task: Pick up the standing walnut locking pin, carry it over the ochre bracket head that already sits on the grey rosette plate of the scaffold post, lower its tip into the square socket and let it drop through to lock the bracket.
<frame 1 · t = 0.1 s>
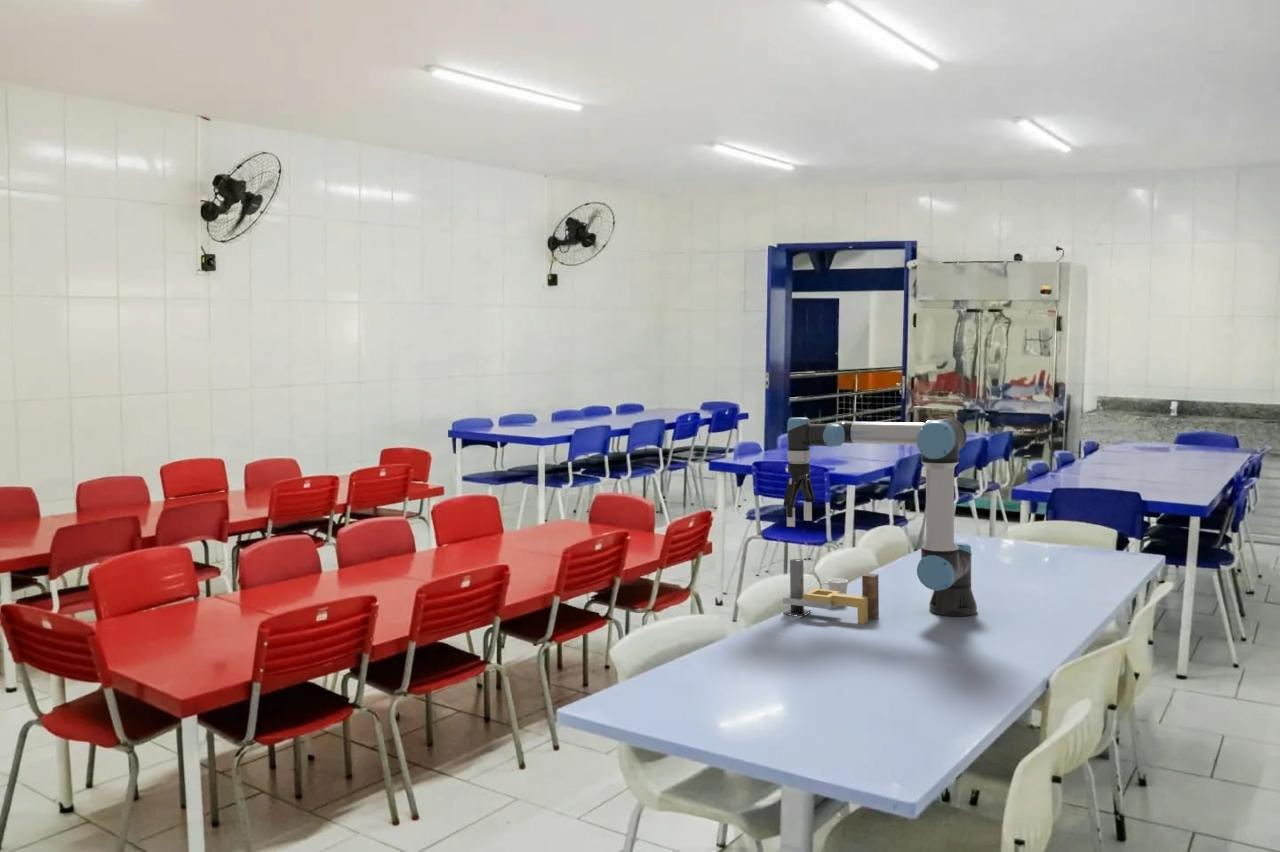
hand: (799, 523, 365), 28 cm above the table, fingers open, 13 cm apart
pin: (870, 617, 346), on the table
cup: (833, 603, 366), on the table
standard: (797, 613, 353), on the table
bracket: (837, 606, 345), on the table
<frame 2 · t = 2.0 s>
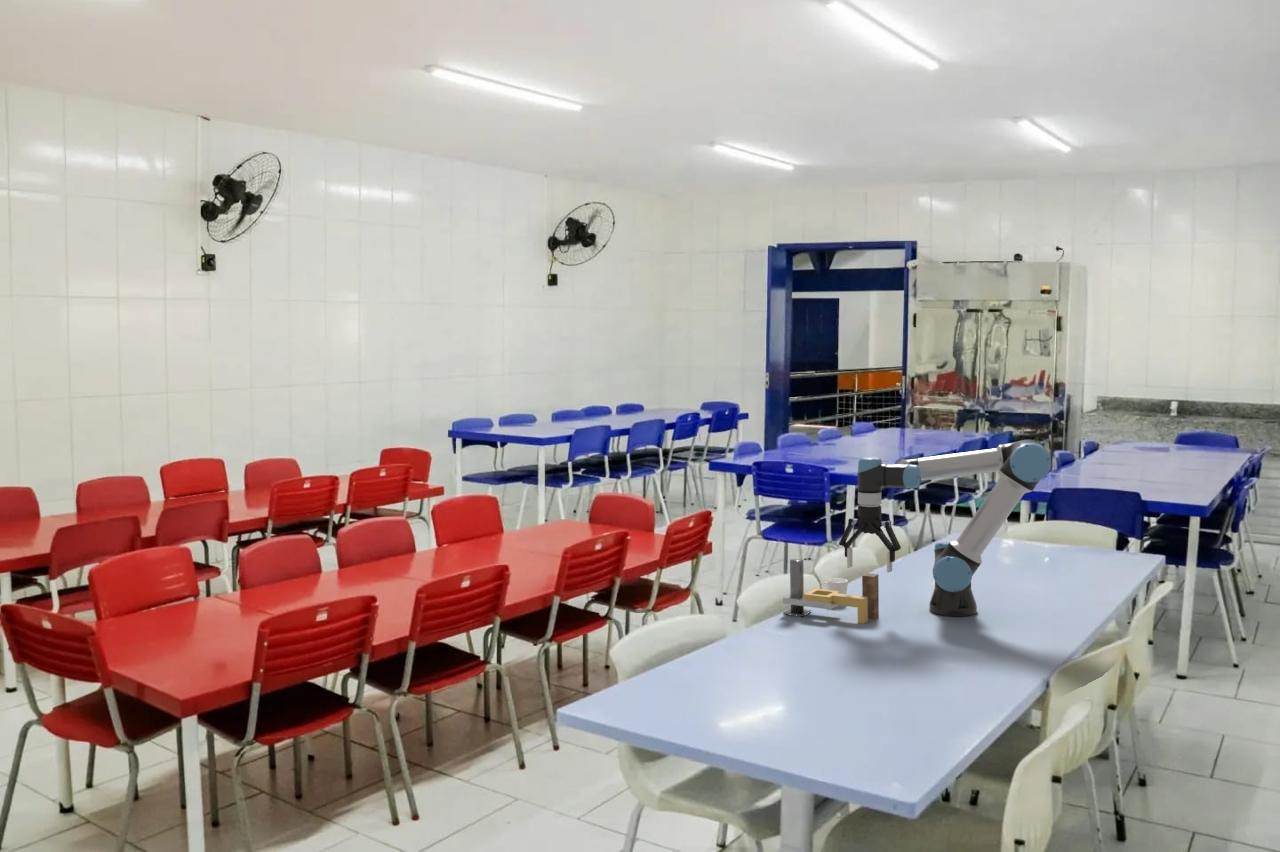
hand: (869, 569, 345), 16 cm above the table, fingers open, 13 cm apart
nothing on the table moved.
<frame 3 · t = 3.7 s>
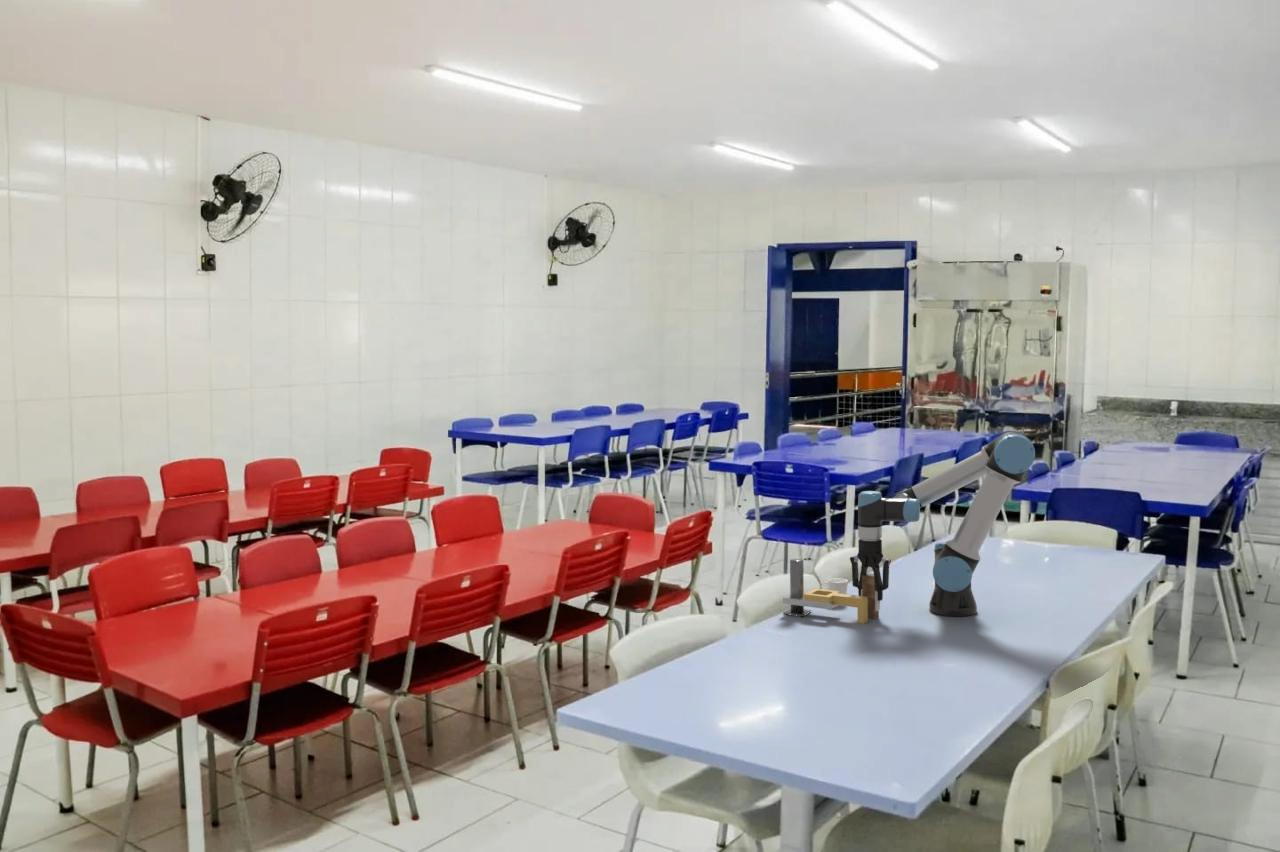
hand: (870, 609, 346), 3 cm above the table, fingers closed on pin, 4 cm apart
pin: (870, 617, 346), on the table, touching gripper
everything else where it was.
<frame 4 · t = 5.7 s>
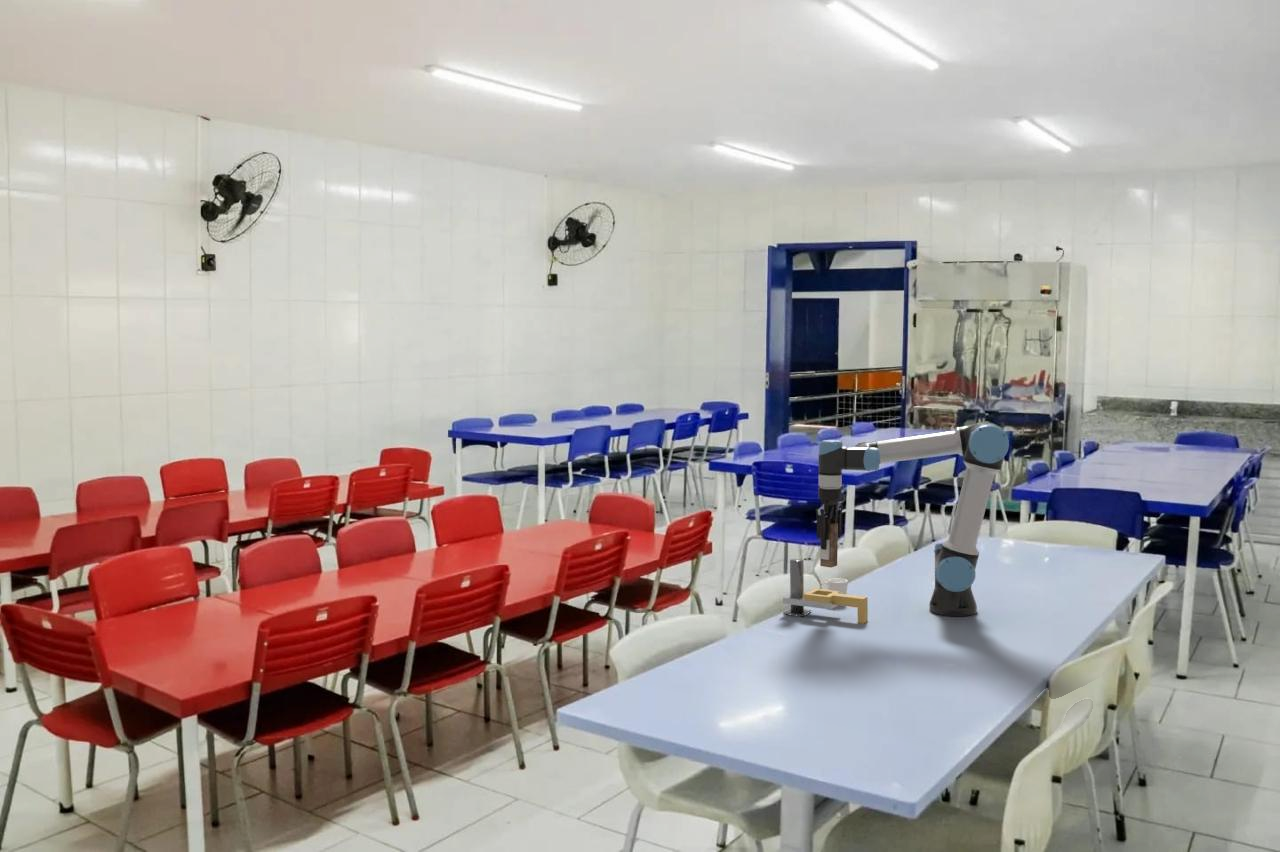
hand: (828, 557, 346), 20 cm above the table, fingers closed on pin, 4 cm apart
pin: (828, 565, 346), point 17 cm above the table, touching gripper
everything else where it was.
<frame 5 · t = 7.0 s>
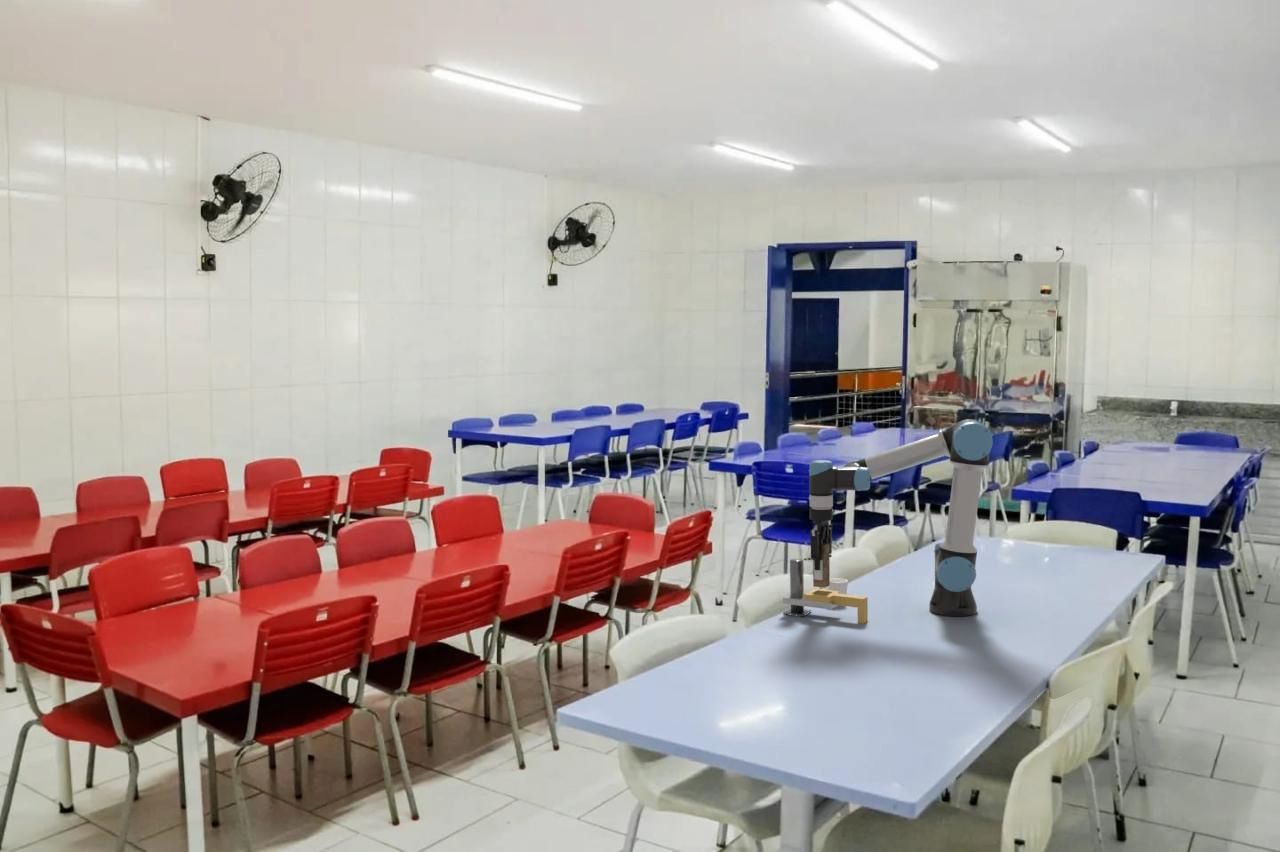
hand: (821, 578, 347), 13 cm above the table, fingers closed on pin, 4 cm apart
pin: (821, 585, 347), point 10 cm above the table, touching gripper
everything else where it was.
when the fingers open (9 cm above the table, at t = 7.9 s): pin drops 7 cm, on the table.
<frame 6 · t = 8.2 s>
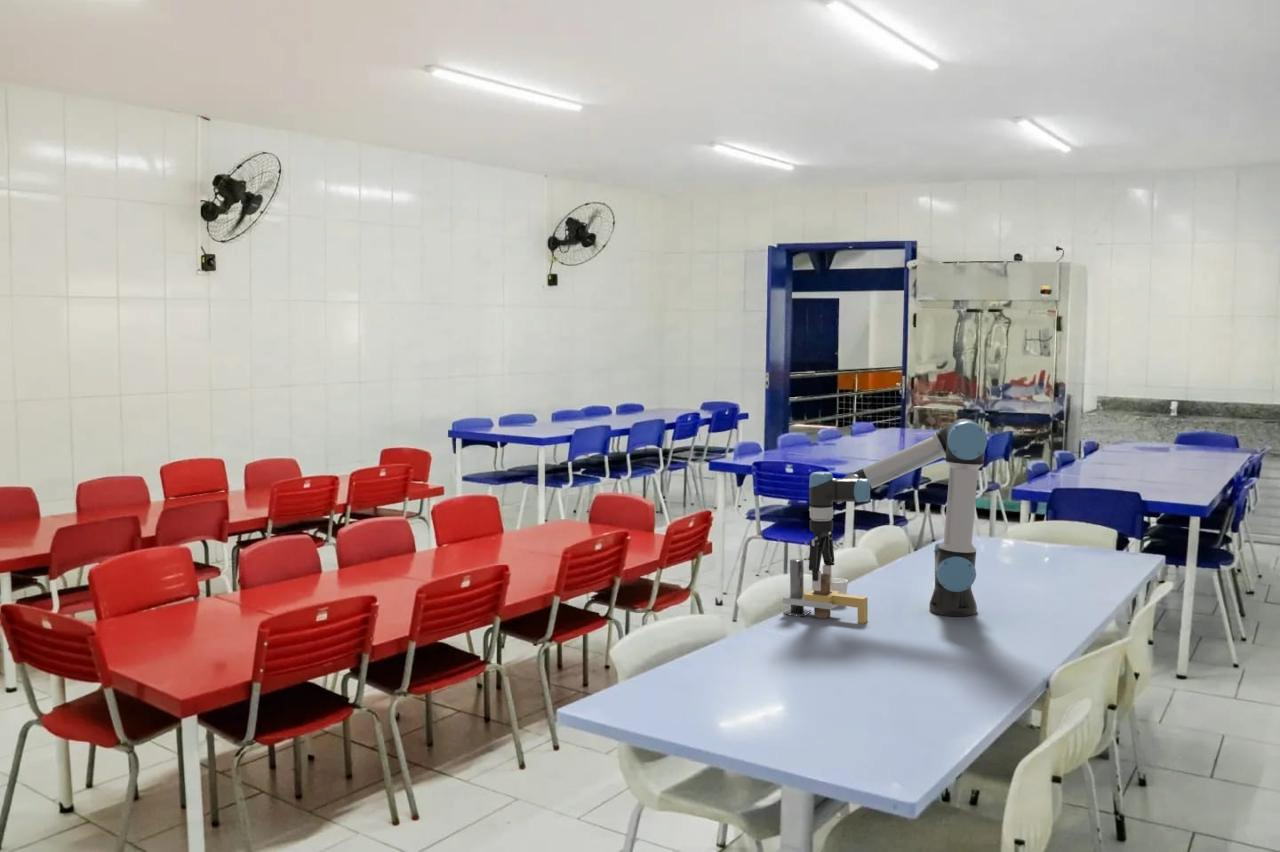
hand: (822, 587, 347), 10 cm above the table, fingers open, 8 cm apart
pin: (822, 616, 348), on the table
everything else where it was.
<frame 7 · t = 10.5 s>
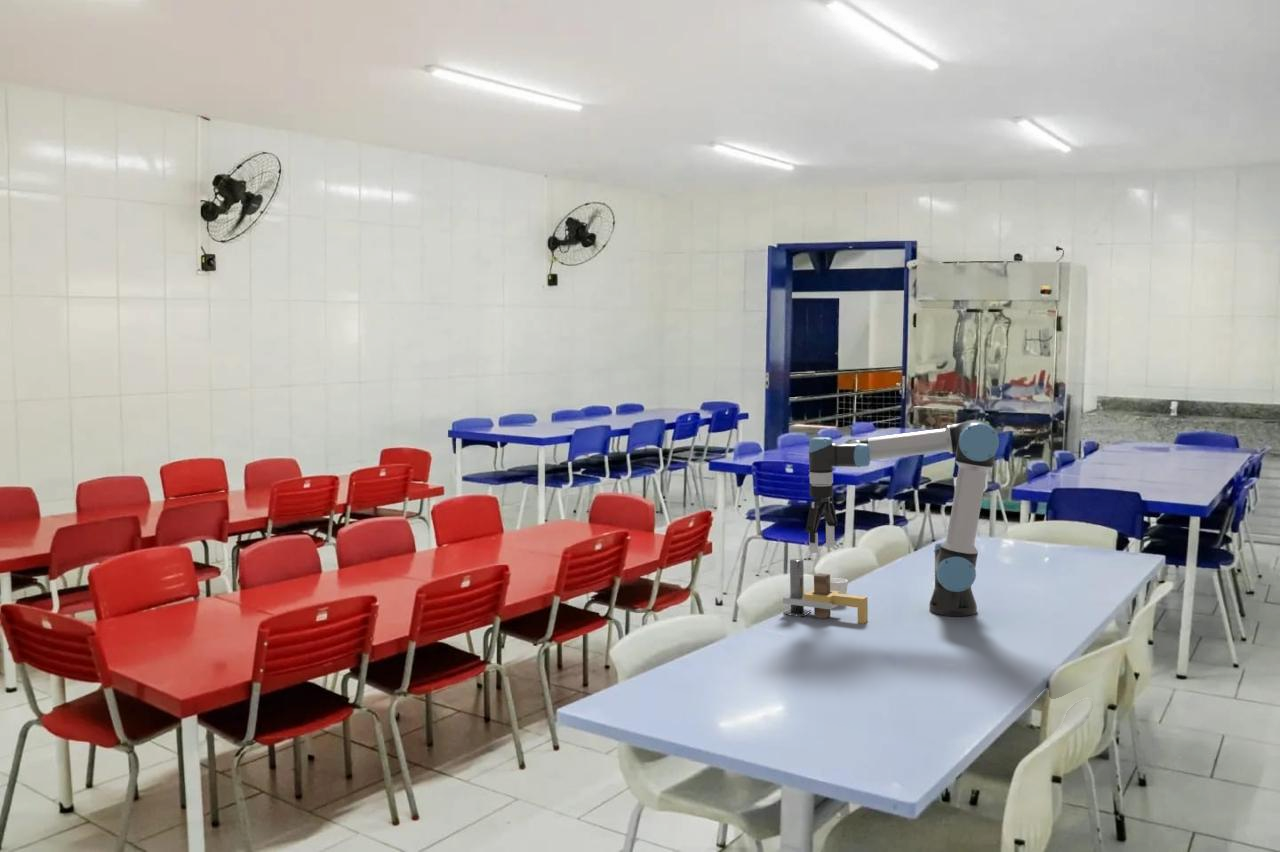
hand: (822, 549, 346), 23 cm above the table, fingers open, 13 cm apart
nothing on the table moved.
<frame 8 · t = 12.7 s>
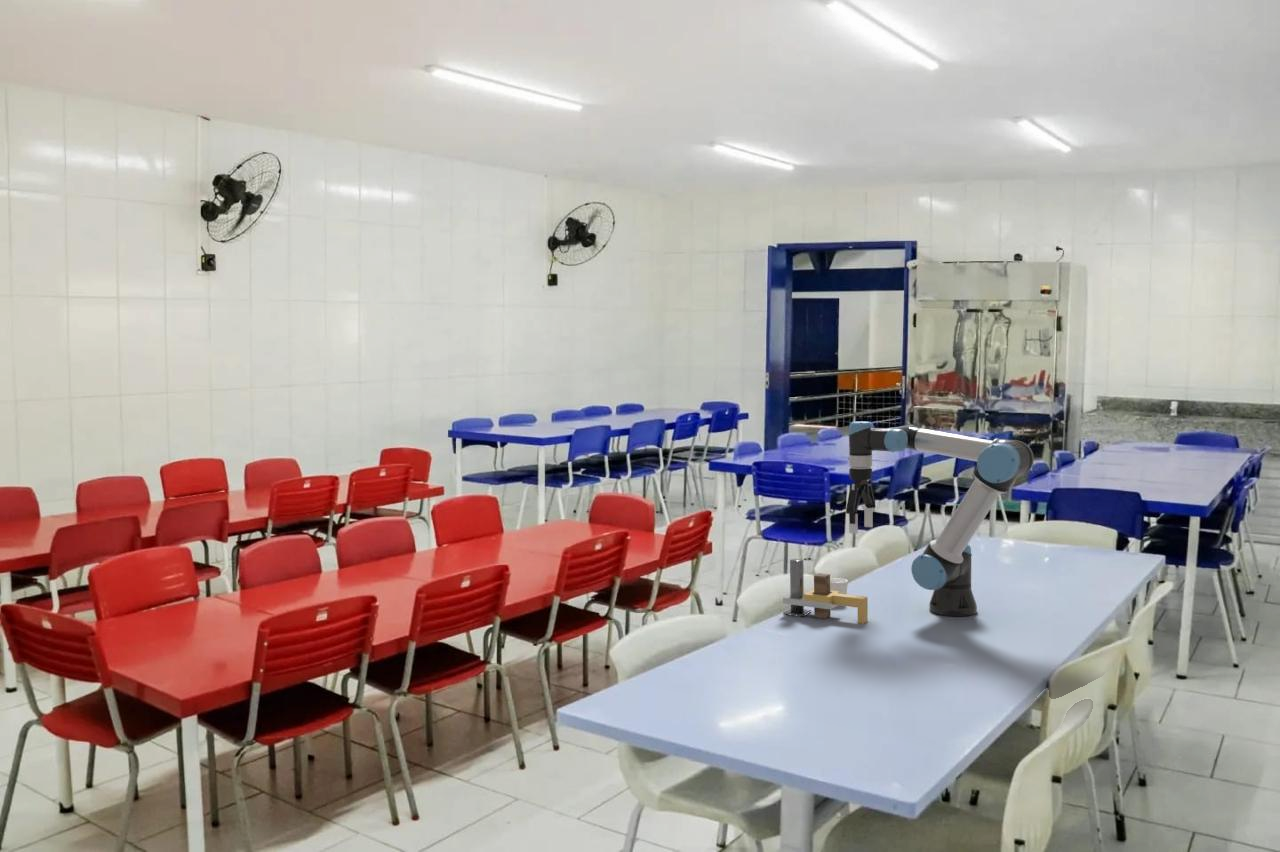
hand: (861, 530, 356), 27 cm above the table, fingers open, 13 cm apart
nothing on the table moved.
at the end: pin 0.1 cm from the target spot on the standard, point 0.0 cm above the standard's base; pin tilted 0°; the gripper is holding nothing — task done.
